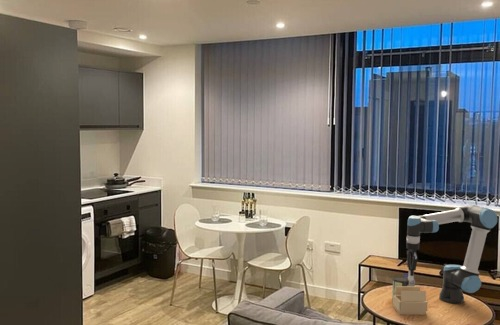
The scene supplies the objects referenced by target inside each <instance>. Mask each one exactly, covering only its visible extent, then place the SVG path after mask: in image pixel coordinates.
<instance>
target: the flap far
mask: <svg viewBox="0 0 500 325" xmlns="http://www.w3.org/2000/svg"><path fill="white" fill-rule="evenodd" d="M401 291H421V286H418V285H417V286H416V285H415V286H396V290H395V294H401Z"/></svg>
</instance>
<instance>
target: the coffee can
mask: <svg viewBox="0 0 500 325" xmlns="http://www.w3.org/2000/svg"><path fill="white" fill-rule="evenodd" d="M396 286H409V280H408V278H405V277H404V276H393V277H392V294H391V296H392V297H391V300H392V301H393V296H394V295H401V294H395V290H396Z"/></svg>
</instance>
